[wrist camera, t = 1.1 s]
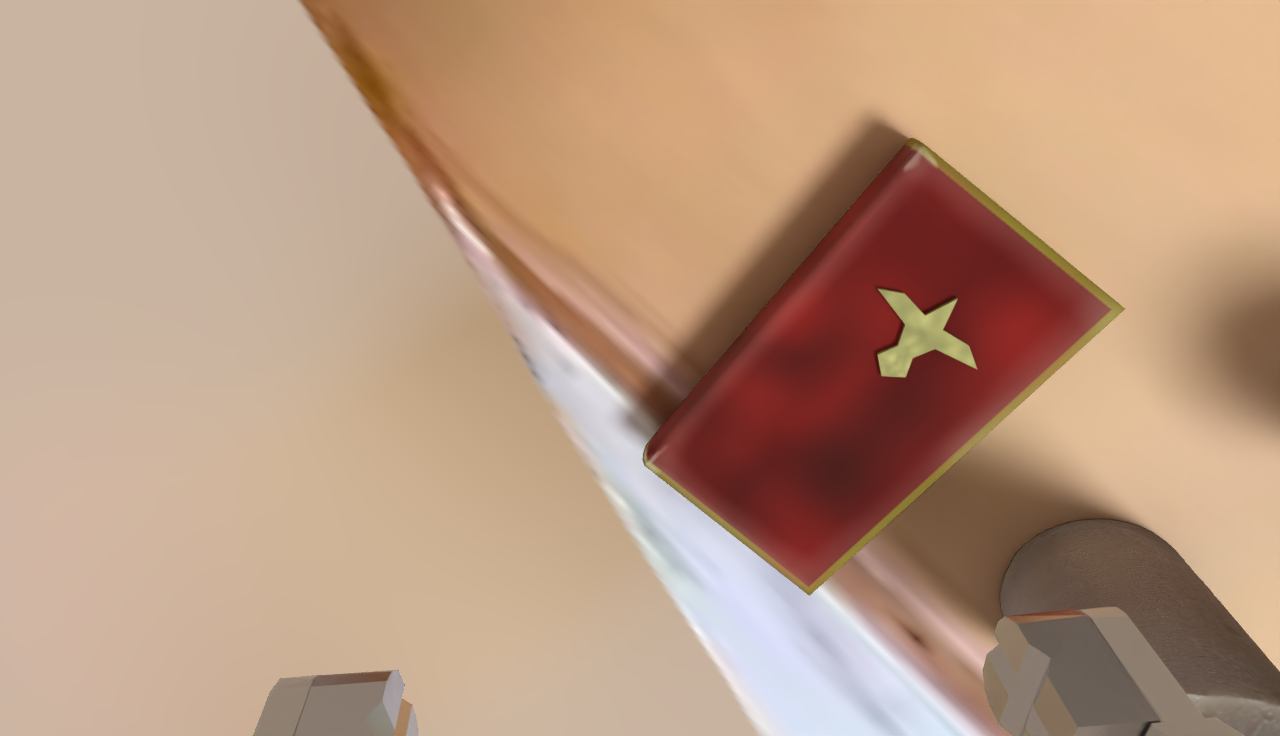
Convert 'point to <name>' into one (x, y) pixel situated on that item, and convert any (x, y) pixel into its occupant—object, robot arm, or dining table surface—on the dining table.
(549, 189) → the dining table surface
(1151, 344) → the dining table surface
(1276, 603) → the dining table surface
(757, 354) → the hardcover book
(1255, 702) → the pillar candle
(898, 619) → the dining table surface
